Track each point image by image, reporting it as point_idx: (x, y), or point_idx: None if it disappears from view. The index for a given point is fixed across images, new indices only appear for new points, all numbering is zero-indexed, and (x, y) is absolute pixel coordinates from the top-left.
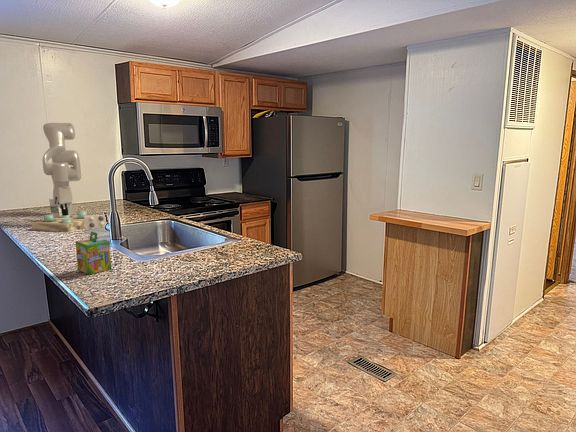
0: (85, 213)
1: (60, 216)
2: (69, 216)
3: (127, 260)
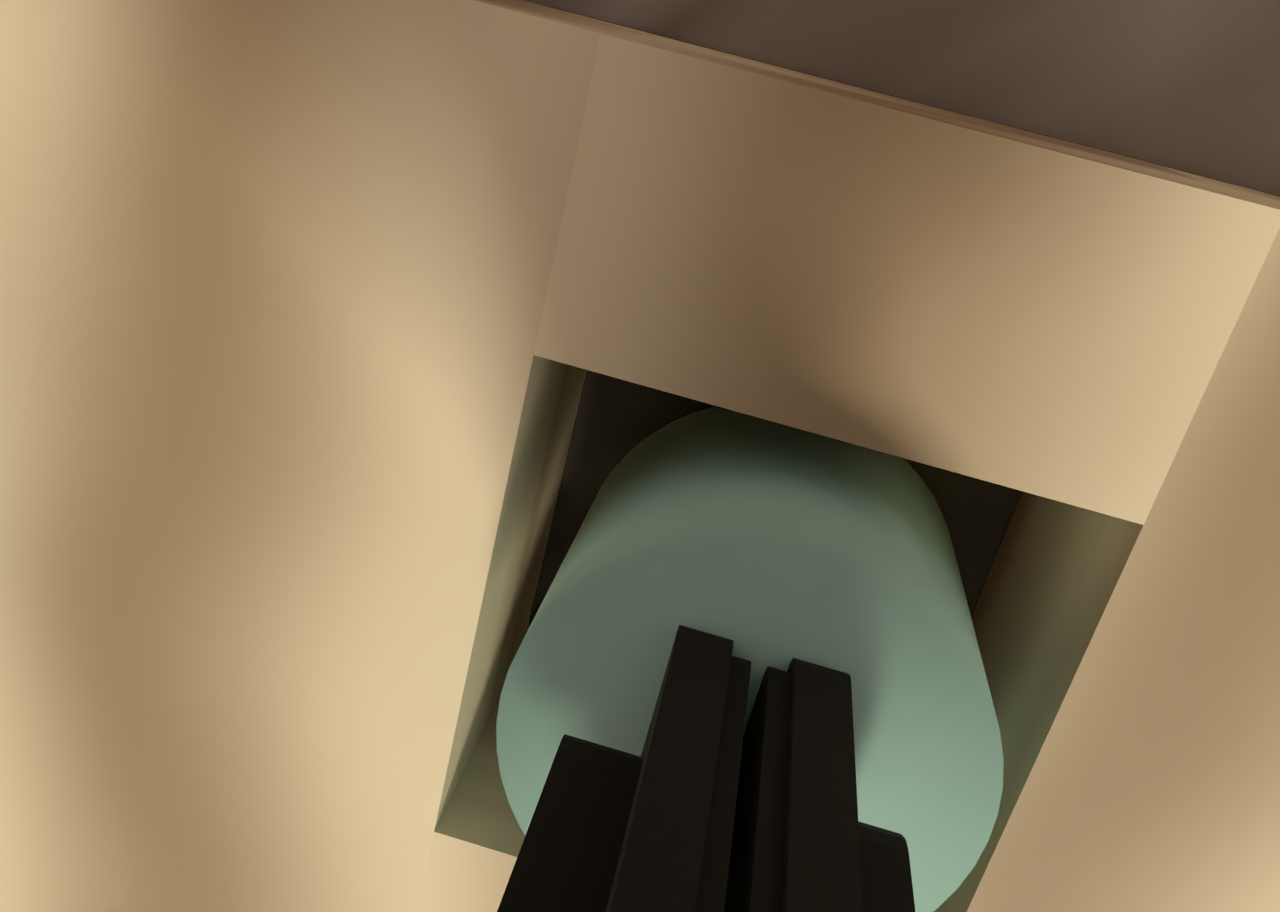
0: None
1: (1035, 291)
2: None
3: None
